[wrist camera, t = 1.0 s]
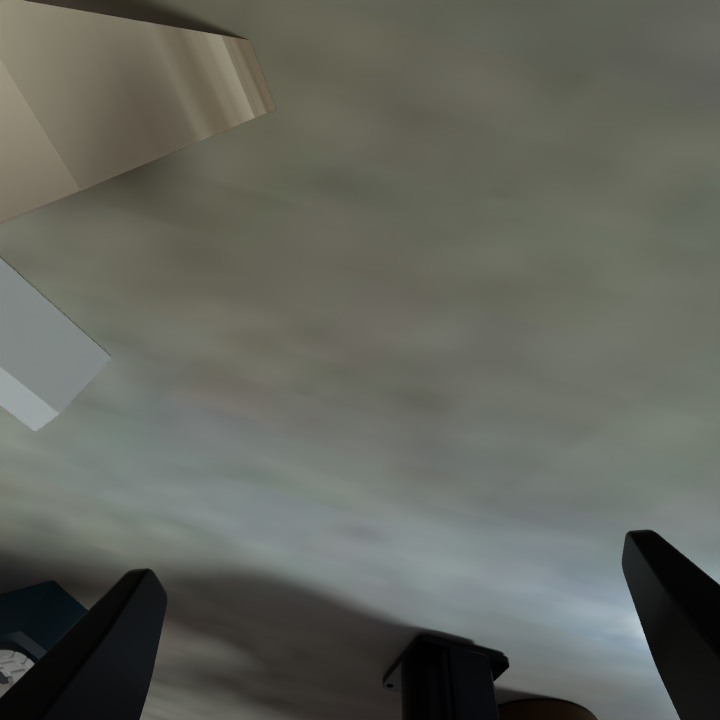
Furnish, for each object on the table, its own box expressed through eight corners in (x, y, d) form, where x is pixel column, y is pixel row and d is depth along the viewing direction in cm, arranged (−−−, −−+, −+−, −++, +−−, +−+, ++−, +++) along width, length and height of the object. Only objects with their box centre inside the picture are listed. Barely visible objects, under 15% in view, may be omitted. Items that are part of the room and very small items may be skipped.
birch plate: (249, 40, 15) (-44, -12, 5) (275, 109, 16) (81, 191, 6) (74, 115, 16) (-451, 204, 6) (108, 175, 17) (-295, 339, 7)
